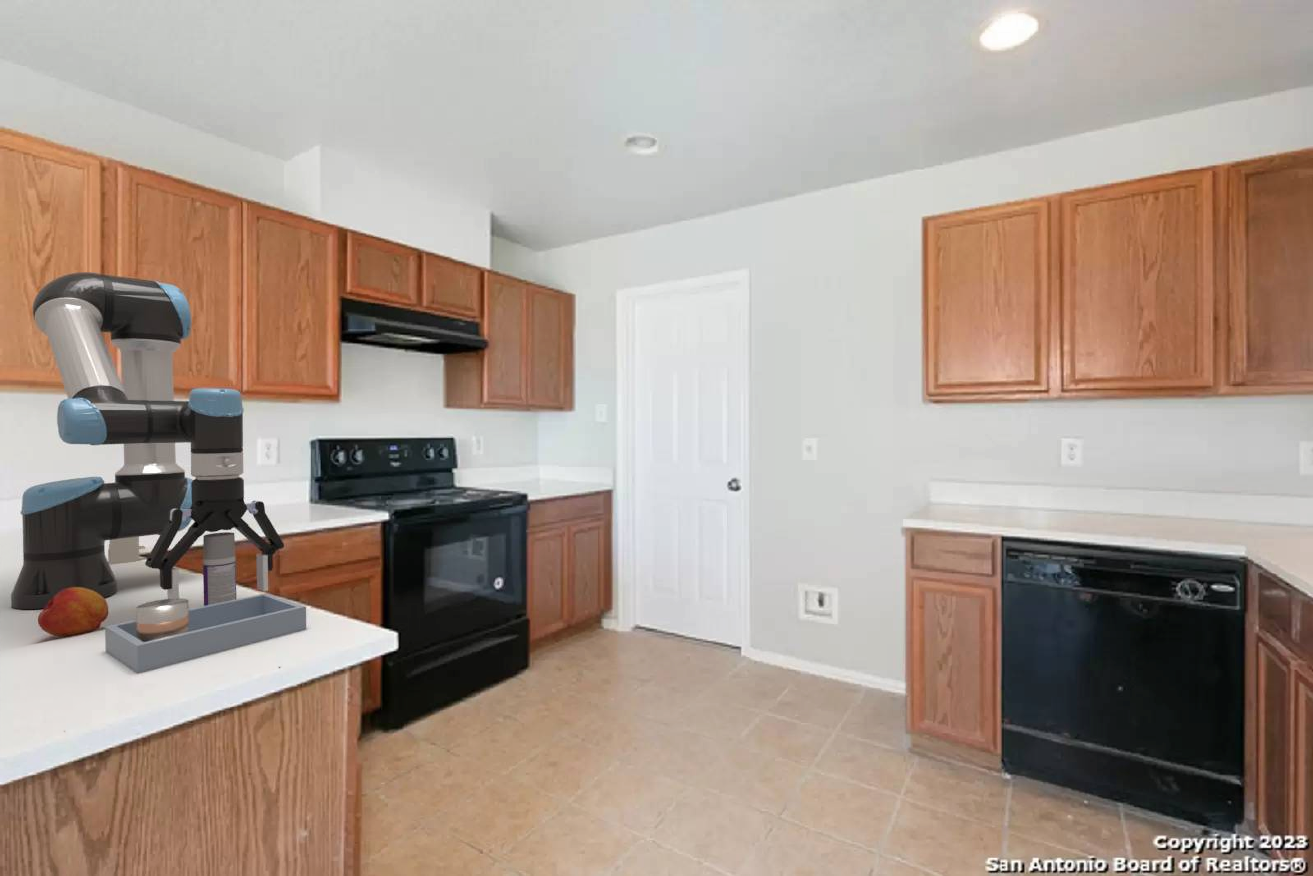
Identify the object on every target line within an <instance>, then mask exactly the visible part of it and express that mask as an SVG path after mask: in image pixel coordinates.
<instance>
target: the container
mask: <svg viewBox="0 0 1313 876" xmlns="http://www.w3.org/2000/svg"><path fill="white" fill-rule="evenodd" d="M202 536H203V537H202V538H203V544H202V547H203V548H202V549H203V551H202V554H203V555H202V573H203V574H202V577H203V606H207V605H212V604H216V603H221V602H226V601H231V600H236V599H237V562H236V561H237V560H236V558H237V557H236V541H235V540H236V539H235V532H227V531H226V532H211V533H208V534H205V535H204V534H203V535H202Z"/></svg>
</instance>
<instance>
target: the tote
mask: <svg viewBox="0 0 1313 876" xmlns="http://www.w3.org/2000/svg"><path fill="white" fill-rule="evenodd" d="M305 630H307V606H306V605H302V604H300V603H297V602H294V601H291V600H289V599H286V598H283V597H279V596H276V595H273V594H270V593H267V592H266V593H259V594H256V595H250V596H246V597H241V598H236V600H231V601H226V602H221V603H216V604H212V605H207V606H204V605H202V606H198V607H193V608H189V632H186V633H182V634H178V635H173V636H169V637H165V638H160V639H156V640H152V641H147V642H143V641H141V640H139V639H137V619H136V620H135V619H134V620H129V621H125V622H120V623H115V624H111V625H107V626H106V625H105V627H104V631H105V633H104V635H105V638H104V639H105V653H107V654H108V655H110V656H111V657H112V658H114V659H115V660H117V661H119V662H120V663H121V664H123V665H124V666H126V667H128V668H129V669H130V670H132V671H133V672H135V673H136V674H141V673H146V672H149V671H152V670H153V671H154V670H156V669H160V668H164V667H168V666H172V665H175V664H180V663H184V662H188V661H190V660H194V659H195V660H196V659H198V658H203V657H206V656H210V655H214V654H218V653H221V652H226V651H230V650H232V649H233V650H234V649H237V648H240V647H245V646H248V645H249V646H250V645H252V644H255V643H261V642H263V641H268V640H271V639H274V638H279V637H283V636H286V635H290V634H294V633H297V632H301V631H305Z"/></svg>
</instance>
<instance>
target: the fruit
mask: <svg viewBox="0 0 1313 876" xmlns="http://www.w3.org/2000/svg"><path fill="white" fill-rule="evenodd" d="M108 615H109V605H108V603H107V600H106V599H105V598H103V597H102V596H101V595H100V594H98V593H97V592H95V591H93V590H90V589H87V588H82V587H71V588H66V589H63V590H61V591H60V592H59V593H57V594H56V595H55V596H54V597H53V598H52V599H51V600H50V601H49V602H48V603H47V605H46V606H45V608H43V610H42V611H41V612H40V613H39V614H38V616H37V623H38V625H39V627H40V628H41V630H43V631H44V632H45V633H47V634H49V635H51V636H55V637H62V638H63V637H65V638H71V637H75V636H80V635H85V634H89V633H93V632H95V631H96V630H97V629H99V628H100V627H101V625H102V623H103V622H105V621H106V620H107V618H108Z"/></svg>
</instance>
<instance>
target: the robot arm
mask: <svg viewBox="0 0 1313 876" xmlns="http://www.w3.org/2000/svg"><path fill="white" fill-rule="evenodd" d="M32 315H33V319H34V320H33V321H34V323H35V325H36V327H37V329H38V330H39V331H40V332H41V333H42V334H43V335H45V336H46V337H47V339H48V342H49V345H50V349H51V351H52V355H53V357H54V361H55V363H56V365H57V366H56V367H57V369H58V372H59V376H60V379H61V381H62V384H63V386H64V387H63V388H64V389H65V390H64V391H65V394H66V397H67V398H65V399H63V400H61V401H60V402H59V403H58V407H57V413H56V415H57V416H56V422H57V423H56V424H57V430H58V436H59V438H60V439H61V440H62V442H64V443H65V444H69V445H90V446H100V445H101V446H102V445H123V466H122V467H121V468H120V469H119V470H117V471H116V472H115V473H114V482H109V483H107V482H106V483H105V480H104V479H103V477H101V476H87V477H79V478H78V477H77V478H70V479H64V480H63V479H62V480H61V479H60V480H55V481H52V482H51V481H50V482H49V481H48V482H46V483H40V484H36V485H33V486H31V487H28V488H27V489H25V491H24V492H23V493H22V498H21V499H22V501H21V510H20V515H22V516H21V517H22V553H23V555H22V556H23V557H22V558H23V562H22V563H23V564H22V567H21V569H20V571H19V574H18V577H17V580H16V582H15V584H14V586H13V589H12V592H11V595H10V605H11V607H12V608H14V609H20V610H39V609H44V608H45V606H46V605H47V603H48V602H49V601H50V600H51V599H52V598H53V597H54V596H55V595H56V594H57V593H59V592H60V591H61V590H63V589H66V588H71V587H82V588H87V589H90V590H93V591H95V592H97V593H98V594H100V595H101V596H102V597H103V598H104V599H105V598H108V597H109V596H113V595H115V594H116V593H117V592H118V583H117V582H118V581H117V578H116V576H115V574H114V572H113V570H112V567H111V565H109V563H108V558H107V557H106V552H105V551H106V549H105V543H106V542H105V541H110V540H113V539H122V538H131V537H147V536H156V535H157V536H159V537H158V539H157V540H156V543H155V544H154V546H153V547H152V550H151V551H150V553H149V555H148V557H147V558H146V560H145V562H144V563H145V564H144V565H145V566H146V567H148V568H151V569H155V570H156V569H157V570H159V585H160V588H161V589H162V590H164V591H166V592H167V599H175V598H180V587H179V586H180V584H179V583H180V582H179V581H180V580H179V579H180V578H179V576H180V575H179V568H176V567H175V566H176V564H177V563H178V562H180V560H181V559H182V557H184V555H185V554H186V553H187V551H188V550H190V548H191V547H192V546H193V545H194V543H196V541H197V540H198V539H199V538H200V537H202V536H204V534H205V533H206V532H209V533H217V532H219V531H221V530H222V531H232V529H235V530H237V531H238V532H240V534H241V535H243V536H244V537H245V539H247V540H248V541H250V543H251V544H253V545H254V546H255V548H257V549H258V550H259V551H260V552H261V553H256V589H257V590H260V591H262V592H266V591H267V592H268V591H269V572H271V571H273V568H274V563H273V562H274V561H273V559H274V557H273V555H274V554H276V551H278V550H281V549H283V548H284V547H285V543H284V542H283V539H281V537H280V535H279V534H278V532H277V530H276V529H275V527H274V525H273V524H272V522H271V520H270V518H269V517H268V515H267V514H266V509H265V503H264V501H260V500H252V501H251V502H248V503H246V502H245V500H244V499H245V481H244V480H245V479H244V478H243V477H240V476H241V475H243V474H244V448H243V447H244V426H243V425H244V424H243V422H244V421H243V420H244V418H243V417H244V415H243V413H244V407H243V400H242V394H241V392H240V391H239V390H237V389H233V388H213V387H211V388H207V387H206V388H205V387H201V388H199V387H198V388H194V389H192V390H190V392H189V399H188V400H175V398H174V396H175V395H174V394H175V393H174V392H175V391H174V367H173V366H174V365H173V361H174V360H173V354H174V353H175V352H176V351H177V350H178V349H179V348H180V347H182V343H181V341H182V340H185V339H187V338H188V337H190V334H191V332H192V331H191V327H192V313H191V307H190V304H189V301H188V300H187V296H185V294H184V293H183V291H182V290H181V289H180V288H179V287H177V286H175V285H173V284H170V283H164V282H158V281H156V280H147V279H142V278H141V279H140V278H132V277H125V276H117V275H109V274H103V273H98V272H90V271H89V272H87V271H85V272H84V271H83V272H82V271H81V272H74V273H68V274H65V275H62V276H60V277H57V278H55V279H53V280H51V281H49V282H48V283H47V284H46V285H44V286H43V287H42V288H41V289H40V290H39V291H38V293H37V294H36V295H35V297H34V300H33V303H32ZM103 333H109V334H110V343H111V344H112V345H113V346H115V347H116V348H117V349H118V350H119V351H120V352H119V353H120V368H121V369H120V371H121V374H120V375H121V377H120V375H119V374H118V371H117V368H116V365H115V363H114V360H113V359H112V356H111V354H110V351H109V348H108V345H107V343H106V341H105V338H104V336H103ZM120 378H121V379H120ZM176 443H179V444H180V443H181V444H184V443H186V444H187V443H190V476H192V477H194V478H195V479H193V478H190V477H186V473H185V471H186V470H185V469H184V468H182V467H181V466H179V464H177V462H176V461H177V460H176V459H177V458H176V456H177V455H176ZM247 511H248V513H249V514H252V517H253V518H254V520H255V521H256V523H257V525H258V527H260V529H261V531H262V533H263V534H264V536H265V538H266V540H267V541H268V542H267V541H266V540H265V539H264V538H262V537H261V536H260V535H259V534H258V533H257V532H256V531H255V530H254V529H253V528H252V527H251V526H250V525H249V524H248V523H247V522H246V521H245V520H244V519H243V516H244V515H245V514H246V512H247ZM192 520H193V521H194V522H193V523H192V524H191V526H189V525H190V523H191V521H192ZM188 526H189V527H188ZM187 527H188V529H187V532H185V534H184V535H182V537H181V538H180V539H179V540H178V542H177V543H176V544H174V546H173V547H172V549H171V550H170V551H169V552H168V550H169V548H170V546H171V544H172V543H173V541H174V539H175V537H176V535H177V534H178V532H181V531H183V530H185V529H186V528H187ZM167 552H168V553H167Z"/></svg>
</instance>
